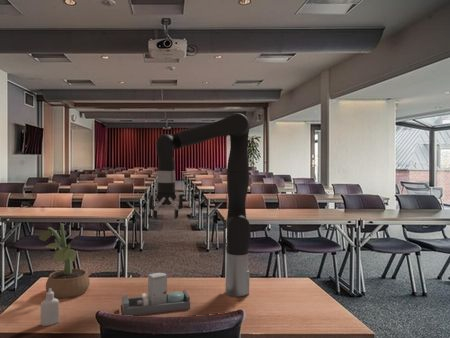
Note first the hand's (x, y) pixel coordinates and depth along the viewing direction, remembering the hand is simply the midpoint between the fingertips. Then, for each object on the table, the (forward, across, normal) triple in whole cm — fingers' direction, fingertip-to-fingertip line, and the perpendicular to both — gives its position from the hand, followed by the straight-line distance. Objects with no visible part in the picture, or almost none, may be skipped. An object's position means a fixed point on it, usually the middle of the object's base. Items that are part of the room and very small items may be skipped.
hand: (165, 218), depth 165 cm
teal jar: (+29, +1, -22) cm, 36 cm away
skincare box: (+29, -6, -22) cm, 37 cm away
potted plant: (+30, -41, +3) cm, 51 cm away
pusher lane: (+30, -7, -22) cm, 38 cm away
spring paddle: (+29, -12, -22) cm, 38 cm away
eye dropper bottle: (+30, -43, -24) cm, 58 cm away
